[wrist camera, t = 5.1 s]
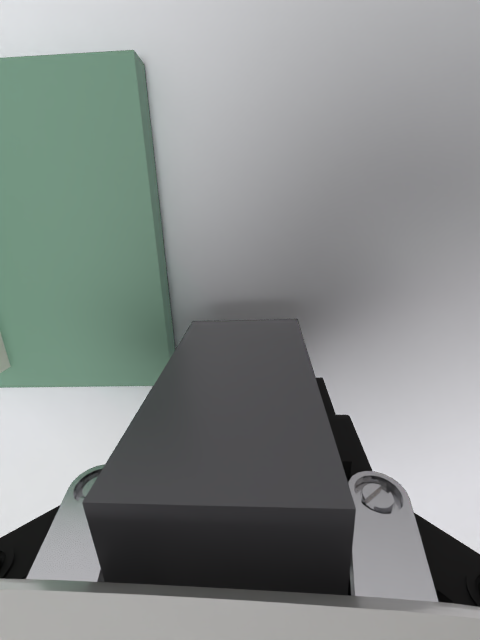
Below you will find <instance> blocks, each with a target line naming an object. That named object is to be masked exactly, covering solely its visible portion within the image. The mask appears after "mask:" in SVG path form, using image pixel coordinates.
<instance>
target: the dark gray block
mask: <svg viewBox="0 0 480 640" xmlns="http://www.w3.org/2000/svg"><path fill="white" fill-rule="evenodd" d="M82 504H83V508H84V511H85V515H86V518H87V522H88V525H89V529H90V532H91V536H92V539H93V543H94V546H95V550H96V553H97V557H98V560H99V564H100V567H101V571H102V574H103V578H104V581H105V582H110V583H131V584H152V585H171V586H190V587H209V588H227V589H245V590H264V591H281V592H298V593H314V594H331V595H348V586H349V576H350V566H351V556H352V546H353V536H354V525H355V515H356V507H355V504H354V501H353V497H352V494H351V491H350V488H349V485H348V481H347V478H346V475H345V472H344V468H343V465H342V462H341V459H340V455H339V452H338V449H337V446H336V442H335V439H334V436H333V433H332V430H331V426H330V423H329V420H328V417H327V413H326V410H325V407H324V404H323V400H322V397H321V394H320V391H319V388H318V384H317V381H316V378H315V375H314V371H313V368H312V365H311V362H310V358H309V355H308V352H307V349H306V345H305V342H304V339H303V336H302V333H301V329H300V326H299V323H298V320H297V319H274V320H230V321H193V322H192V324H191V325H190V327H189V328H188V330H187V332H186V333H185V335H184V337H183V338H182V340H181V342H180V343H179V345H178V346H177V348H176V350H175V351H174V353H173V355H172V356H171V358H170V360H169V361H168V363H167V364H166V366H165V368H164V369H163V371H162V373H161V374H160V376H159V378H158V379H157V381H156V382H155V384H154V386H153V387H152V389H151V391H150V392H149V394H148V395H147V397H146V399H145V400H144V402H143V404H142V405H141V407H140V409H139V410H138V412H137V413H136V415H135V417H134V418H133V420H132V422H131V423H130V425H129V427H128V428H127V430H126V431H125V433H124V435H123V436H122V438H121V440H120V441H119V443H118V445H117V446H116V448H115V449H114V451H113V453H112V454H111V456H110V458H109V459H108V461H107V463H106V464H105V466H104V467H103V469H102V471H101V472H100V474H99V476H98V477H97V479H96V481H95V482H94V484H93V485H92V487H91V489H90V490H89V492H88V494H87V495H86V497H85V499H84V500H83V502H82Z"/></svg>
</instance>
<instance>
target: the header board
mask: <svg viewBox="0 0 480 640" xmlns="http://www.w3.org/2000/svg"><path fill="white" fill-rule="evenodd" d="M174 351H175V344H174V335H173V325H172V316H171V307H170V298H169V289H168V279H167V270H166V261H165V252H164V243H163V233H162V224H161V215H160V206H159V197H158V187H157V178H156V169H155V160H154V151H153V141H152V132H151V123H150V114H149V105H148V95H147V86H146V77H145V68H144V64H143V62H142V61H141V59H140V58H139V57H138V55H137V54H136V53H135V51H134V50H125V51H108V52H91V53H74V54H57V55H41V56H24V57H7V58H0V388H4V387H90V386H154V384H155V382H156V381H157V379H158V378H159V376H160V374H161V373H162V371H163V369H164V368H165V366H166V364H167V363H168V361H169V360H170V358H171V356H172V355H173V353H174Z"/></svg>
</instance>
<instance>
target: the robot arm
mask: <svg viewBox="0 0 480 640" xmlns="http://www.w3.org/2000/svg"><path fill="white" fill-rule="evenodd" d="M316 381H317V384H318V388H319V391H320V394H321V397H322V400H323V404H324V407H325V410H326V413H327V417H328V420H329V423H330V426H331V430H332V433H333V436H334V439H335V442H336V446H337V449H338V452H339V455H340V459H341V462H342V465H343V468H344V472H345V475H346V478H347V481H348V485H349V488H350V491H351V494H352V497H353V501H354V504H355V507H356V515H355V525H354V536H353V546H352V556H351V566H350V576H349V586H348V595H331V594H314V593H298V592H281V591H264V590H245V589H227V588H209V587H190V586H171V585H152V584H131V583H110V582H105V581H104V578H103V574H102V571H101V567H100V564H99V560H98V557H97V553H96V550H95V546H94V543H93V539H92V536H91V532H90V529H89V525H88V522H87V518H86V515H85V511H84V508H83V504H82V502H83V500H84V499H85V497H86V495H87V494H88V492H89V490H90V489H91V487H92V485H93V484H94V482H95V481H96V479H97V477H98V476H99V474H100V472H101V471H102V469H103V467H104V466H105V465H100V466H96V467H93V468H91V469H89V470H87V471H85V472H84V473H82V474H81V475H79V476H78V477H77V478H76V479H75V480H74V481H73V482H72V484H71V485H70V487H69V488H68V490H67V493H66V495H65V497H64V499H63V501H62V503H61V505H60V506H58V507H56V508H54V509H52V510H51V511H49V512H47V513H45V514H43V515H41V516H40V517H38V518H36V519H34V520H32V521H30V522H29V523H27V524H25V525H23V526H21V527H19V528H18V529H16V530H14V531H12V532H10V533H9V534H7V535H5V536H3V537H1V538H0V640H480V554H478V553H477V552H475V551H474V550H472V549H470V548H469V547H467V546H466V545H464V544H463V543H461V542H459V541H458V540H456V539H455V538H453V537H452V536H450V535H448V534H447V533H445V532H444V531H442V530H440V529H439V528H437V527H436V526H434V525H433V524H431V523H429V522H428V521H426V520H425V519H423V518H422V517H420V516H418V515H417V514H415V513H414V512H413V508H412V505H411V501H410V498H409V496H408V494H407V492H406V490H405V489H404V488H403V487H402V486H401V484H399V483H398V482H397V481H395V480H394V479H393V478H391V477H389V476H387V475H385V474H382V473H379V472H375V471H372V469H371V467H370V464H369V462H368V459H367V457H366V454H365V452H364V450H363V447H362V445H361V442H360V440H359V438H358V435H357V433H356V430H355V428H354V426H353V423H352V421H351V418H350V417H349V416H348V415H335V412H334V409H333V406H332V403H331V400H330V397H329V395H328V392H327V389H326V386H325V383H324V380H323V378H316Z"/></svg>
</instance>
